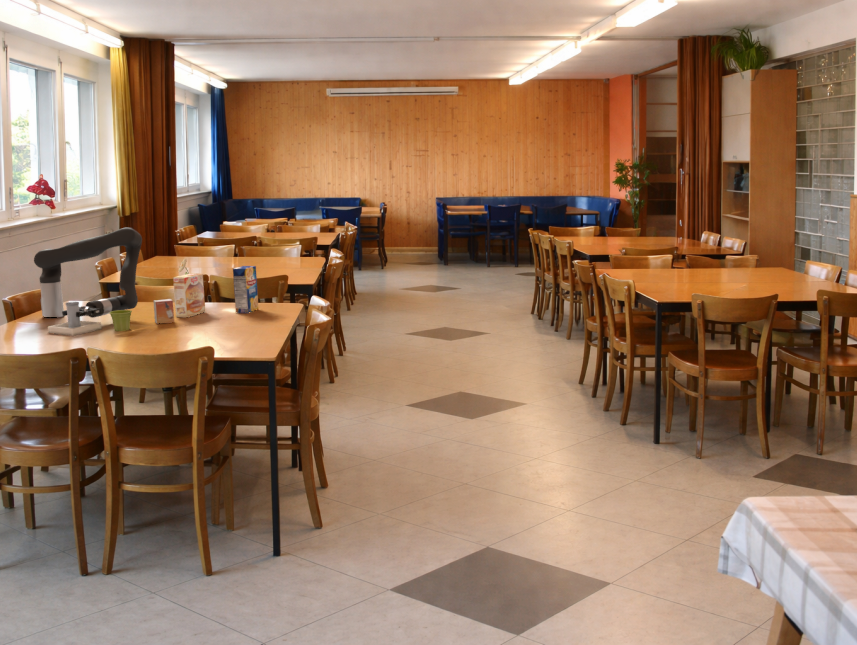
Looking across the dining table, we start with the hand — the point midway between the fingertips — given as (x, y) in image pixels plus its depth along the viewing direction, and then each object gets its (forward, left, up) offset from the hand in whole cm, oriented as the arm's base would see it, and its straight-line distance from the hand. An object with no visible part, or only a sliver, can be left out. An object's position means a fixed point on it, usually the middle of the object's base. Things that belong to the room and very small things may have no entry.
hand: (69, 314), depth 356 cm
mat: (0, +2, -8) cm, 9 cm away
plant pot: (+18, +12, -9) cm, 23 cm away
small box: (+22, +34, -9) cm, 41 cm away
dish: (0, +2, -8) cm, 8 cm away
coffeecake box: (+20, +54, -9) cm, 58 cm away
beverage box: (+41, +71, -9) cm, 82 cm away
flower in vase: (+1, +75, -9) cm, 75 cm away
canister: (0, +2, -7) cm, 7 cm away
